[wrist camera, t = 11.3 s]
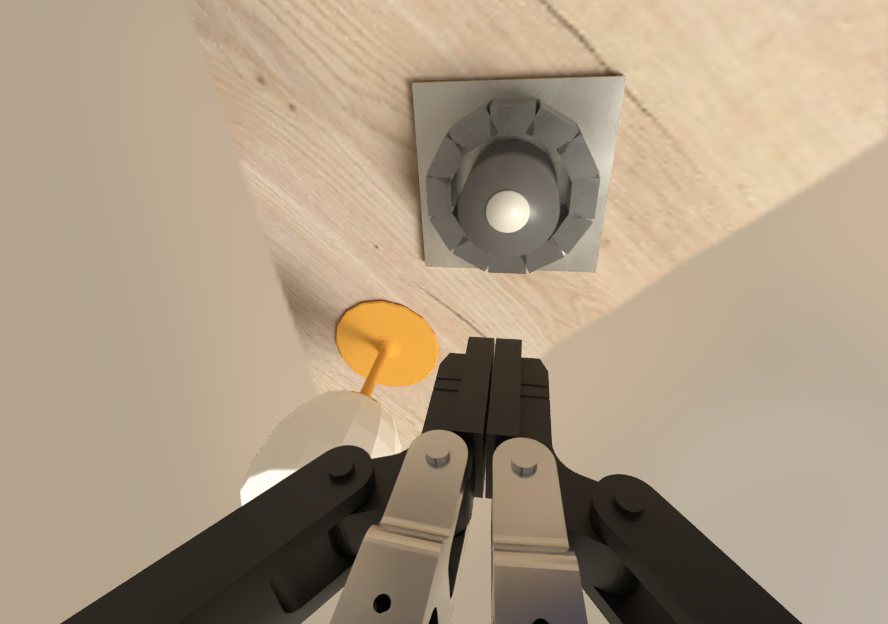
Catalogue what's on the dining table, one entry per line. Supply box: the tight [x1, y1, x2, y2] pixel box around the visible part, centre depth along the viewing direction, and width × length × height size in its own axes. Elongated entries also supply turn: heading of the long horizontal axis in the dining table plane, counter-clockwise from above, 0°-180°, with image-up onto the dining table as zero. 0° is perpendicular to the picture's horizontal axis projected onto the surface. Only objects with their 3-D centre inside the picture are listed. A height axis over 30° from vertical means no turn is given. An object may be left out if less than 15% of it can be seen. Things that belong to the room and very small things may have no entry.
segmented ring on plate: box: [412, 75, 626, 274], centre depth 28 cm, size 12×12×3 cm
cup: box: [240, 301, 439, 506], centre depth 31 cm, size 9×9×16 cm
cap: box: [458, 140, 560, 257], centre depth 26 cm, size 6×6×5 cm
